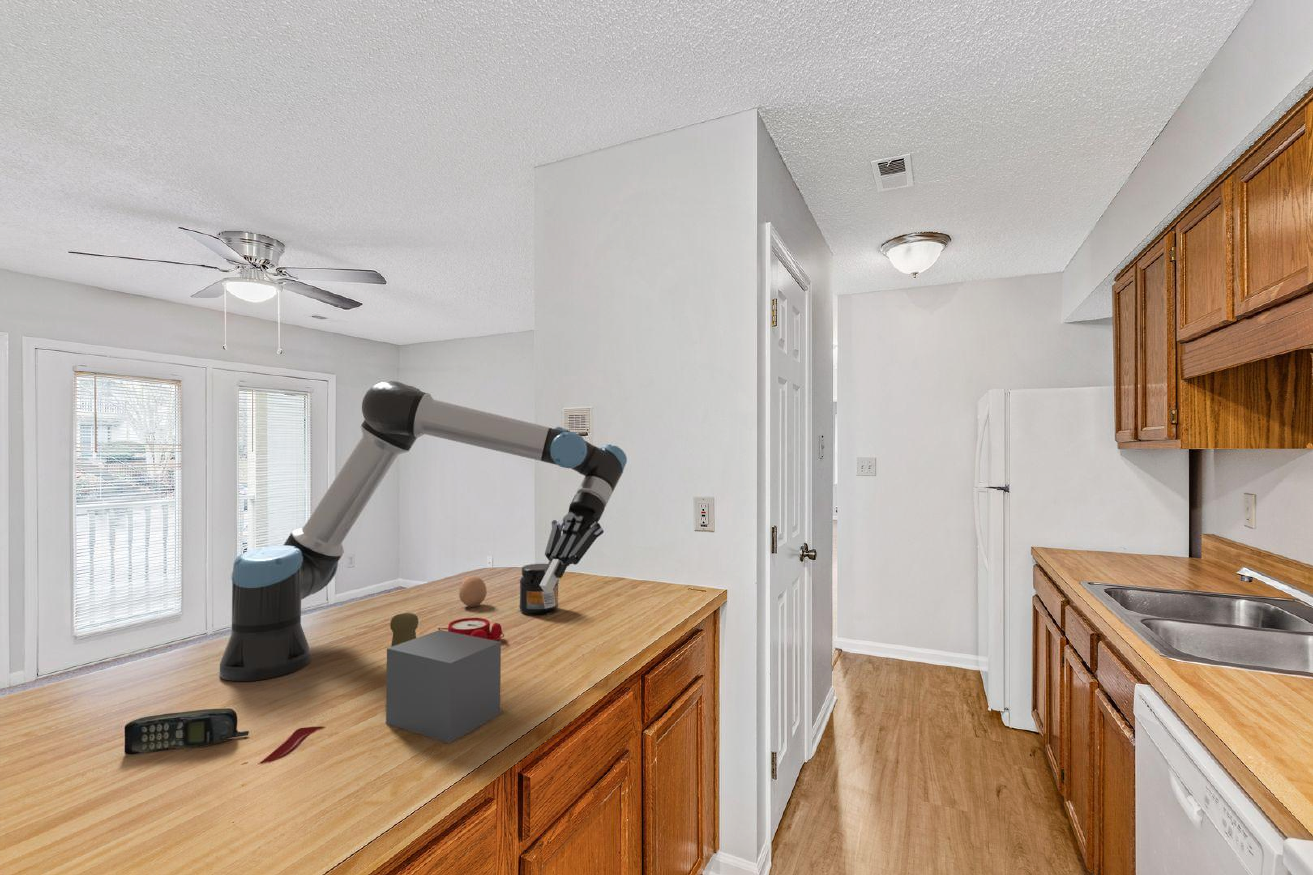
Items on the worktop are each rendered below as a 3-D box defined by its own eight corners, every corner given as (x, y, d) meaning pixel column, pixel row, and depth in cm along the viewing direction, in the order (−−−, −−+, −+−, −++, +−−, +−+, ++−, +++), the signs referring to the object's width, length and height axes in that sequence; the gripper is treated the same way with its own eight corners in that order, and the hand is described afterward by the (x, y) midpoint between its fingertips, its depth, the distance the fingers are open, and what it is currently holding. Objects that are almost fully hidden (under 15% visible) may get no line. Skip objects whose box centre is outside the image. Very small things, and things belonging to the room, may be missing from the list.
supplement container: (554, 616, 155) (555, 570, 155) (514, 616, 155) (515, 570, 155) (561, 605, 165) (561, 563, 166) (524, 605, 166) (524, 562, 166)
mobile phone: (120, 724, 84) (243, 708, 88) (132, 715, 86) (250, 700, 91) (121, 759, 84) (243, 742, 88) (133, 749, 86) (250, 732, 91)
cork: (426, 667, 119) (427, 612, 119) (402, 677, 113) (403, 620, 113) (405, 662, 121) (405, 608, 121) (380, 672, 116) (381, 616, 116)
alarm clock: (465, 615, 143) (512, 609, 136) (469, 641, 142) (516, 636, 136) (431, 627, 134) (480, 621, 127) (435, 655, 133) (484, 650, 126)
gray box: (449, 743, 88) (450, 663, 88) (385, 723, 94) (386, 648, 95) (500, 714, 98) (500, 641, 98) (439, 697, 104) (440, 629, 104)
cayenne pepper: (318, 726, 94) (318, 714, 94) (338, 732, 92) (338, 719, 92) (239, 763, 83) (239, 749, 83) (260, 770, 81) (260, 756, 81)
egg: (478, 610, 160) (478, 579, 160) (453, 608, 161) (454, 577, 162) (491, 603, 167) (491, 573, 167) (467, 602, 169) (467, 572, 169)
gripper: (620, 512, 134) (579, 603, 119) (573, 510, 140) (528, 595, 125) (608, 491, 130) (563, 582, 114) (560, 489, 136) (511, 575, 120)
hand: (545, 589), depth 120 cm, fingers closed
